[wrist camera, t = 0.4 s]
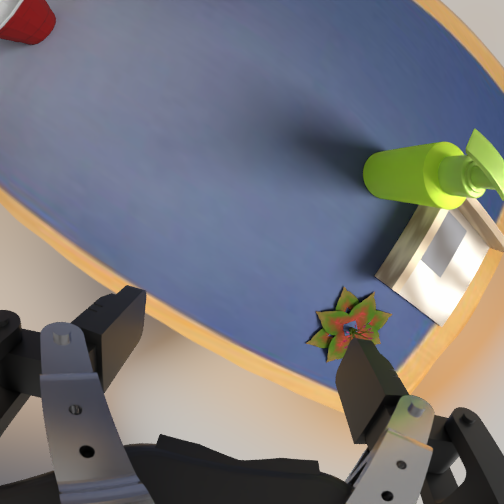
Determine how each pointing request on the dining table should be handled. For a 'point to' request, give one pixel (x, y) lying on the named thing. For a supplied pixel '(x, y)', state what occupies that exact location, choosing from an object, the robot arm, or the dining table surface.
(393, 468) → the robot arm
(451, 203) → the soap dispenser
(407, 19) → the dining table surface
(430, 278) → the corner arena
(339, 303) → the lily flower
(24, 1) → the plastic cup
